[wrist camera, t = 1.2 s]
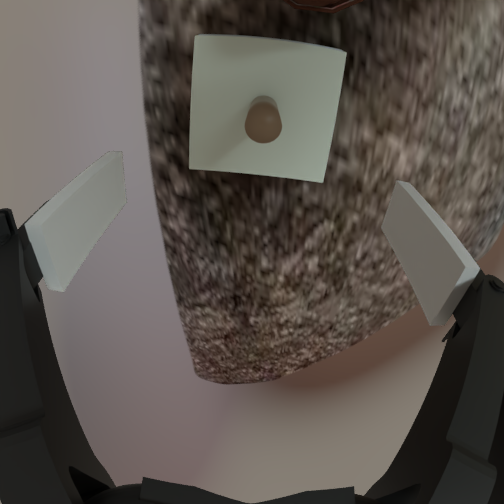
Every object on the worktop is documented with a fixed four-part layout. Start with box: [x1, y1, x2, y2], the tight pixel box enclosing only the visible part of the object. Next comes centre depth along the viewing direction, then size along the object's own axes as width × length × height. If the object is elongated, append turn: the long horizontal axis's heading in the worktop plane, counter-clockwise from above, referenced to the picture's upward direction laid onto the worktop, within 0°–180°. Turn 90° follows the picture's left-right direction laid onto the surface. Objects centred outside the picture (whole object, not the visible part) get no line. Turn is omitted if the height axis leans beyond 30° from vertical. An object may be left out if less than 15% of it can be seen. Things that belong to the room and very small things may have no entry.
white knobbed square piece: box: [189, 36, 347, 183], centre depth 28 cm, size 16×16×13 cm
